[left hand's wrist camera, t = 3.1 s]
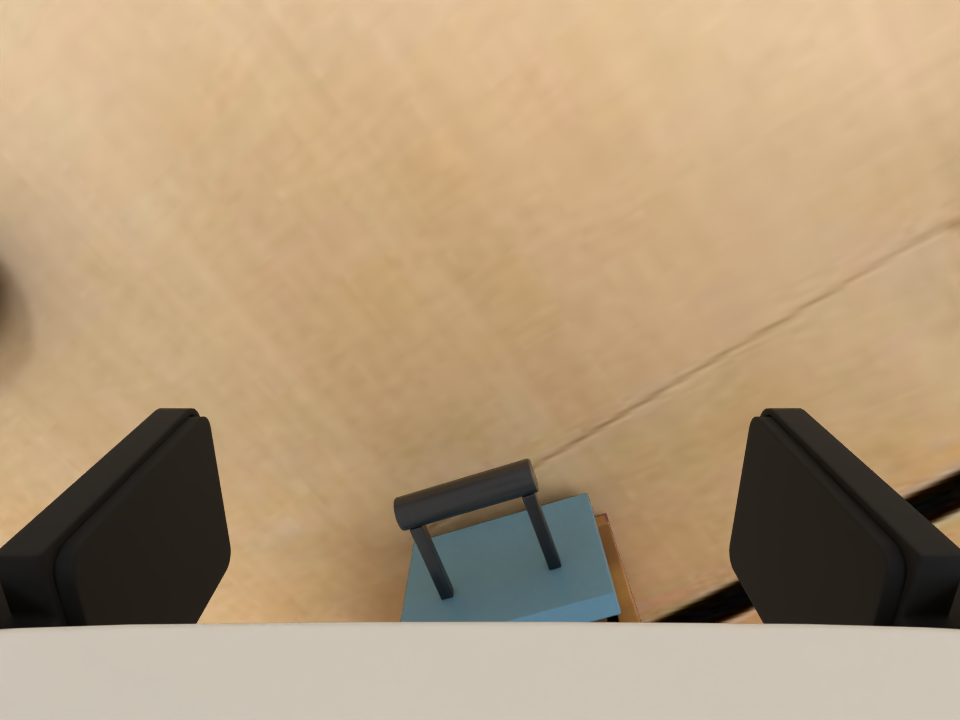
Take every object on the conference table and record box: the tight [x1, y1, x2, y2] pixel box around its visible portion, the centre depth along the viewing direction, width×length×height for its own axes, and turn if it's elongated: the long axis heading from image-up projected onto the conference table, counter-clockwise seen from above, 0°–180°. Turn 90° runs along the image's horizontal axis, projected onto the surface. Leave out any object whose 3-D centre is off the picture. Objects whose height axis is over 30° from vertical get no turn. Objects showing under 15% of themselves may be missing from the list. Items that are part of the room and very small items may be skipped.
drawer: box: [394, 459, 621, 622], centre depth 33 cm, size 22×10×8 cm, turn 19°
